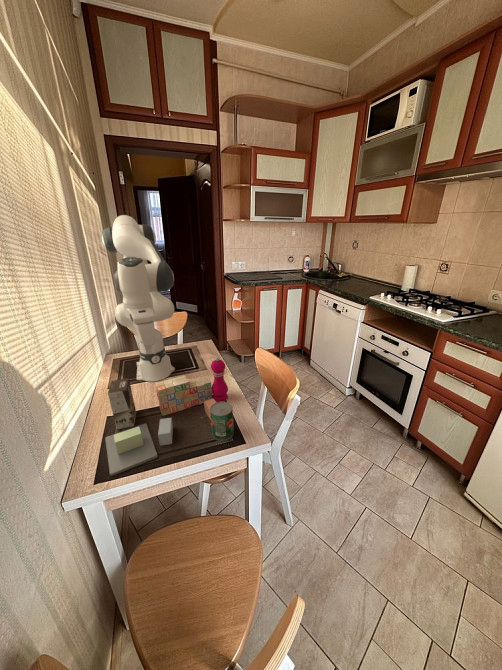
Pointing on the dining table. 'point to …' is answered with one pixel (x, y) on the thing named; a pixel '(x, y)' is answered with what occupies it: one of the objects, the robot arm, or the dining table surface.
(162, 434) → the slate brick
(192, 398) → the stack of blocks
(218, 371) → the pepper mill
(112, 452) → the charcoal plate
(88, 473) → the dining table surface
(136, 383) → the dining table surface
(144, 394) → the dining table surface
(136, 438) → the sage brick
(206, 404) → the terracotta brick
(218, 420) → the canned tomato
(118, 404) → the coffee box
